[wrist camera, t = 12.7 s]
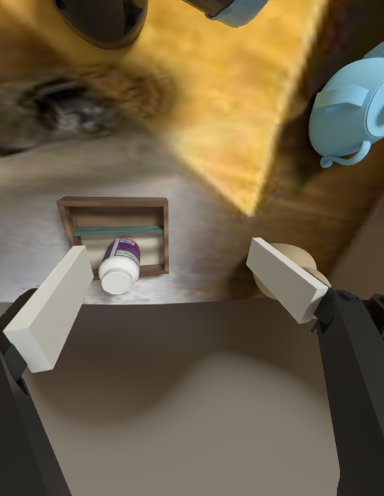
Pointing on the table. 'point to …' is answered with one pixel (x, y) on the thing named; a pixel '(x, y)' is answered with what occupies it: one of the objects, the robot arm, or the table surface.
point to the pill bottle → (120, 265)
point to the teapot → (350, 111)
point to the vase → (297, 257)
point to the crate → (118, 228)
